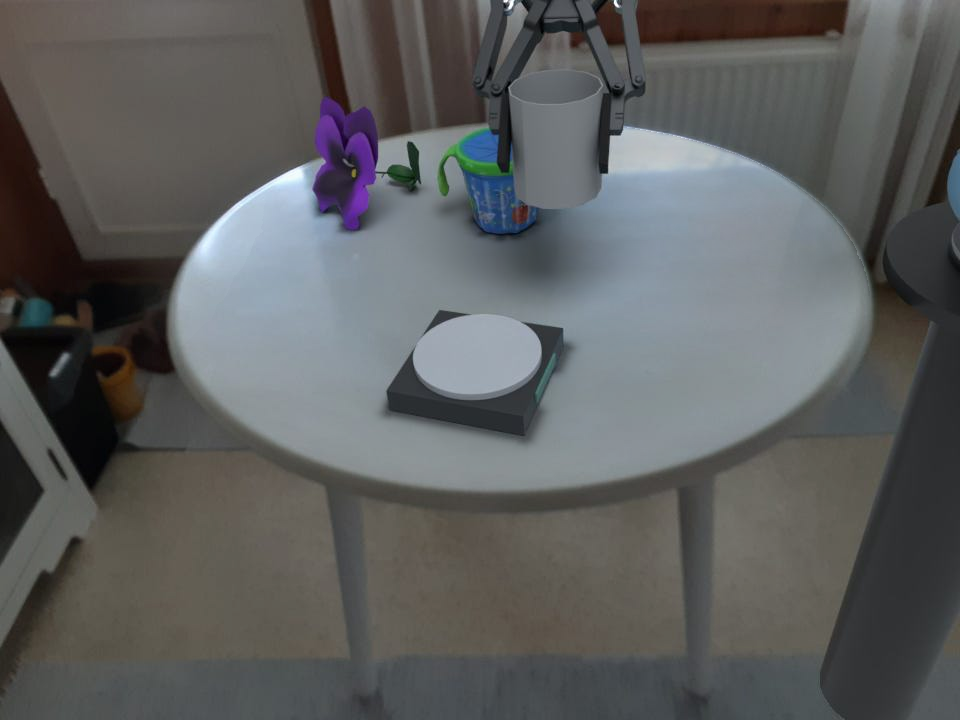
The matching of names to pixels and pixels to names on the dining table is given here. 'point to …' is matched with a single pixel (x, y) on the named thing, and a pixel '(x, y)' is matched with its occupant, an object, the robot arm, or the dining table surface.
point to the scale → (478, 371)
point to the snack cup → (488, 184)
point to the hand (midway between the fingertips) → (552, 168)
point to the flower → (352, 161)
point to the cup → (556, 137)
